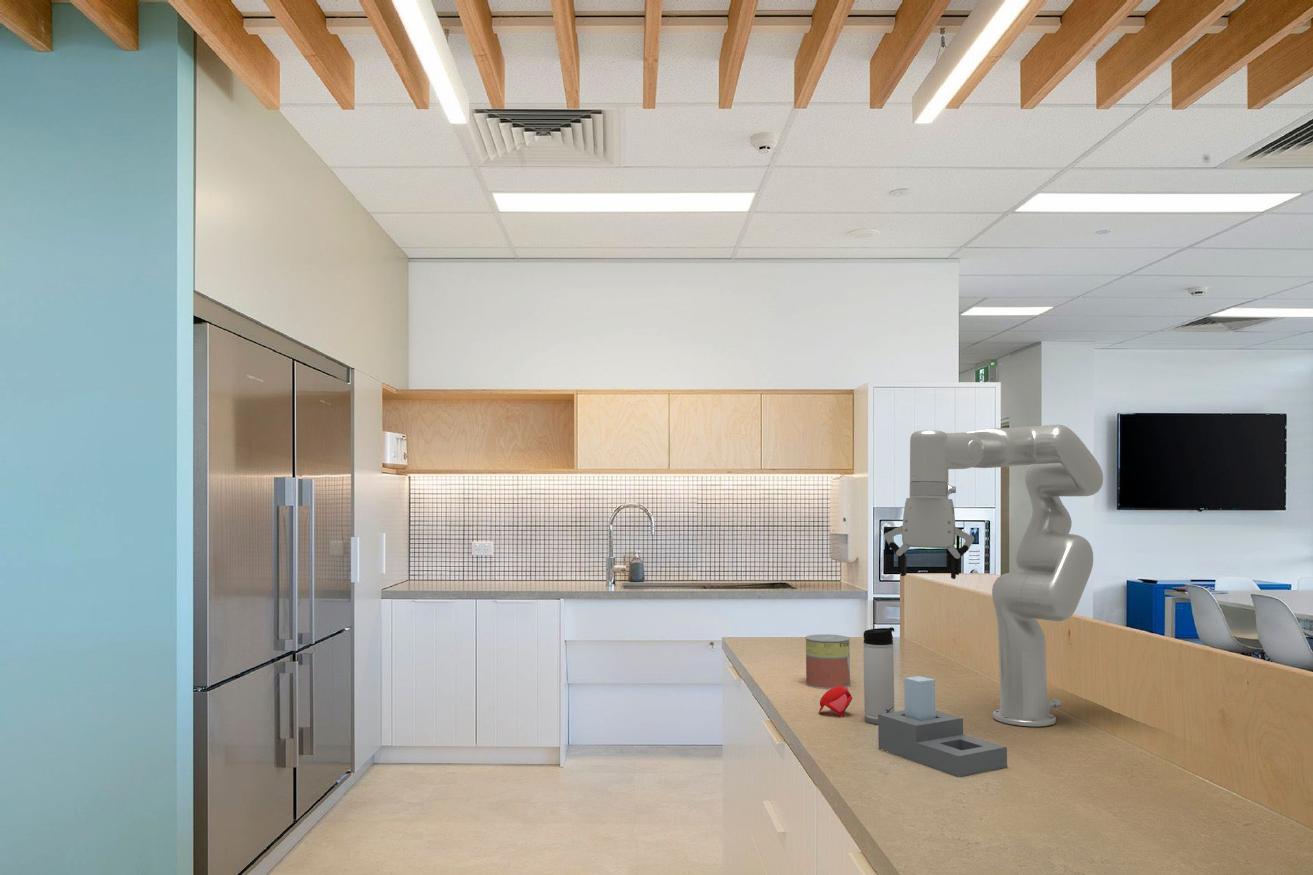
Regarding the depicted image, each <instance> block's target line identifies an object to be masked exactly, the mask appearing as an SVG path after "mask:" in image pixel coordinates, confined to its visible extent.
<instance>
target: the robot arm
mask: <svg viewBox="0 0 1313 875" xmlns="http://www.w3.org/2000/svg"><path fill="white" fill-rule="evenodd" d="M1016 466H1028V467H1027V468H1026V471H1025V476H1024V478H1025V479H1024V481H1025V486H1026V489H1027V493H1028V496H1029V499H1030V503H1031V507H1032V514H1031V518H1030V520H1029V523H1028V524H1027V527H1026V530H1025V532H1024V534H1023V536H1022V538H1021V540H1020V544H1019V545H1018V548H1017V550H1016V555H1015V562H1016V566H1017V567H1018V568H1019V569H1020V570H1021V571H1022V572H1019V571H1017V572H1016V571H1015V572H1014V571H1013V572H1006V573H1003V574H1001V575H999V576H998V577H997V578H996V579H995V580H994V582H993V584H992V591H991V595H992V596H991V597H992V602H993V605H994V610H995V615H996V622H997V632H998V633H997V634H998V671H999V672H998V677H999V708H998V709H996V710H993V712H992V718H993V719H994V720H996V721H998V722H1000V723H1004V724H1008V725H1013V726H1021V727H1022V726H1023V727H1048V726H1052V725H1055V723H1056V722H1057V720H1056V719H1057V718H1056V716H1055V715H1054V714H1053V713H1051V710H1053V709H1058V708H1060V707H1061V704H1062V702H1061V700H1060V699H1059V698H1052V699H1050V698H1049V697H1048V680H1047V679H1048V678H1047V677H1048V676H1047V646H1046V637H1045V634H1044V630H1043V629H1042V627H1041V624H1040V623H1039V621H1038V620H1044V621H1055V622H1063V621H1066V620H1068V619H1070V618H1071V617H1072V616H1073V615H1074V613H1075V612H1076V609H1077V608H1078V606H1079V603H1080V600H1081V598H1082V596H1083V593H1084V591H1085V588H1086V586H1087V584H1088V581H1089V579H1090V575H1091V574H1092V570H1093V565H1094V551H1093V548H1092V544H1091V543H1090V542H1089V541H1088V540H1087V539H1086V538H1085V537H1083V536H1081V535H1079V534H1075V533H1074V534H1073V533H1070V532H1071V529H1072V524H1073V523H1072V522H1073V521H1072V517H1071V515H1070V513H1069V511H1068V509H1067V508H1066V506H1065V505H1064V503H1063V502H1062V500H1061V498H1060V497H1090V496H1093V495H1095V494H1097V493H1098V492H1099V491H1100V490H1101V488H1102V487H1103V484H1104V475H1103V469H1102V467H1101V466H1100V464H1099V462H1098V460H1097V459H1096V457H1095V456H1094V455H1093V453H1091V451H1090V449H1088V447H1087V446H1086V445H1085V443H1084V442H1083V440H1081V438H1080V437H1079V436H1078V435H1077V434H1076V433H1075V431H1073V430H1072V429H1071V428H1070V427H1069V426H1066V425H1063V424H1049V425H1047V424H1046V425H1035V426H1018V427H1017V426H1016V427H996V428H995V427H994V428H985V429H980V430H973V431H965V432H945V431H942V430H933V429H932V430H931V429H929V430H928V429H924V430H917V431H914V432H913V433H912V434H911V436H910V438H909V497H906V498H905V501H904V502H905V503H904V507H903V508H904V509H903V516H902V525H900V526H898V527H896V528H894V529H891V530H890V531H888V532H885V533H884V535H883V536H884V538H885V540H886V542H887V544H888V547H889V548H890V549H891V550H892V551H893V552H894V553H895V554H896V556H897V572H898V573H899V572H900V576H901V577H905V576H907V556H906V552H907V551H909V549H910V548H923V549H926V548H928V549H947V550H948V552H949V553H950V554H951V556H952V558H950V578H951V579H952V580H956V578H957V576H959V575H960V558H961V557H963V556H964V555H965V554H966V553H967V552H968V551H969V549H970V547H971V546H972V544H973V543H974V540H975V537H974V536H973V535H971V534H969V533H967V532H965V531H963V530H962V529H959V528H958V527H956V515H955V507H954V502H953V501H954V500H953V498H952V499H951V498H949V495H952V494H957V486H952V485H950V484H949V470H963V469H964V470H966V469H972V468H974V469H975V468H977V469H978V468H979V469H987V468H988V469H994V468H995V469H997V468H1006V467H1008V468H1009V467H1016ZM900 534H901V542H902V545H900V546H899V545H898V544H897V543H896V542H895V540H894V537H896V536H898V535H900ZM957 536H958V537H960V538H961V539H963V540H964V543H963V545H962V546H961V547H960V548H959V549H957V548H956V539H957V538H956V537H957Z"/></svg>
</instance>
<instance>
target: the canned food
mask: <svg viewBox="0 0 1313 875" xmlns="http://www.w3.org/2000/svg"><path fill="white" fill-rule="evenodd" d="M850 640H851V638H850V637H848V636H846V635H845V636H844V635H839V634H838V635H837V634H811V635H806V636H805V665H806V666H805V670H806V671H805V672H806V674H805V675H806V680H805V681H806V682H805V685H806V686H807V687H810V688H814V689H818V690H819V689H820V690H830V689H832V688H835V687H845V688H847V689H848V688H850V687H851V664H850V662H851V659H850V658H851V656H850V655H851V654H850V653H851V652H850V651H851V650H850Z"/></svg>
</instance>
